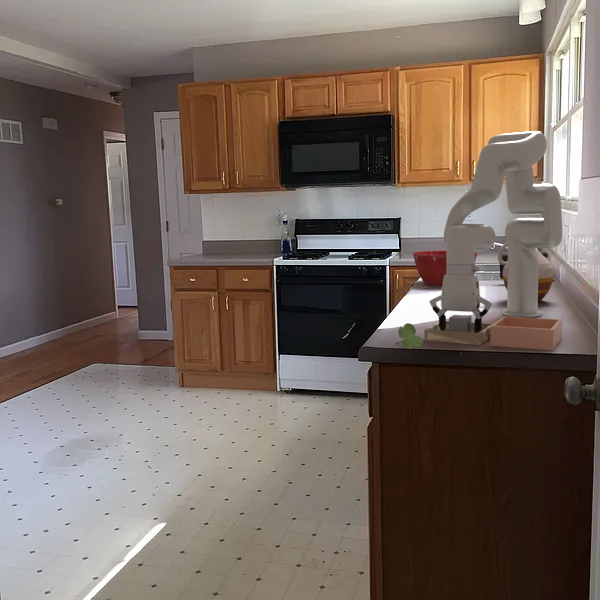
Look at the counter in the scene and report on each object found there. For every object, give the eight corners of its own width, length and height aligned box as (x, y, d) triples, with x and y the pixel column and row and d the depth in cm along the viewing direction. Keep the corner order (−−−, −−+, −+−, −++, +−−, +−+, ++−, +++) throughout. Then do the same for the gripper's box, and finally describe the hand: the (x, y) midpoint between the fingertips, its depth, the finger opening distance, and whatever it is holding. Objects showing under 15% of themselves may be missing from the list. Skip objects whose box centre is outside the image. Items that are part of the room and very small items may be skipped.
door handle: (548, 286, 281) (548, 249, 279) (500, 288, 286) (499, 251, 284) (547, 285, 284) (547, 248, 282) (499, 287, 289) (498, 251, 287)
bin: (503, 334, 186) (503, 316, 186) (561, 338, 179) (562, 319, 178) (490, 345, 173) (490, 325, 172) (553, 350, 165) (553, 329, 164)
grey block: (453, 335, 188) (454, 314, 187) (471, 336, 185) (471, 315, 185) (448, 338, 184) (448, 317, 183) (466, 340, 181) (466, 318, 180)
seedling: (406, 362, 177) (421, 353, 171) (382, 348, 175) (395, 339, 170) (411, 341, 181) (425, 332, 176) (388, 327, 179) (401, 317, 174)
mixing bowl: (482, 283, 300) (482, 250, 297) (471, 292, 274) (471, 255, 272) (421, 282, 311) (421, 250, 309) (405, 290, 285) (405, 255, 283)
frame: (441, 330, 195) (441, 320, 195) (494, 334, 187) (494, 323, 187) (424, 340, 182) (424, 330, 181) (481, 344, 174) (481, 333, 174)
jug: (497, 306, 236) (498, 222, 231) (496, 299, 253) (497, 220, 248) (555, 306, 230) (558, 221, 226) (550, 299, 247) (552, 219, 243)
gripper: (495, 269, 181) (494, 330, 183) (434, 268, 189) (434, 326, 192) (488, 272, 174) (487, 335, 177) (425, 271, 183) (425, 331, 185)
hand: (459, 331), depth 184 cm, fingers open, 9 cm apart
